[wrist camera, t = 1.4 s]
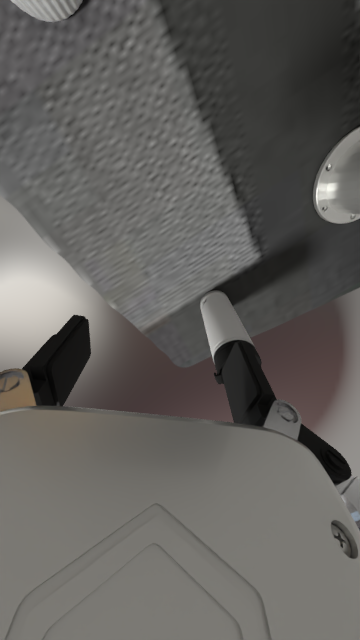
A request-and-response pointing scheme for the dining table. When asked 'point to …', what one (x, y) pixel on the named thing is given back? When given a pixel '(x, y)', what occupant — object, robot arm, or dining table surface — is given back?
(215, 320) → the travel mug
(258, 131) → the dining table surface
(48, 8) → the ramekin
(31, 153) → the dining table surface
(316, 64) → the dining table surface
